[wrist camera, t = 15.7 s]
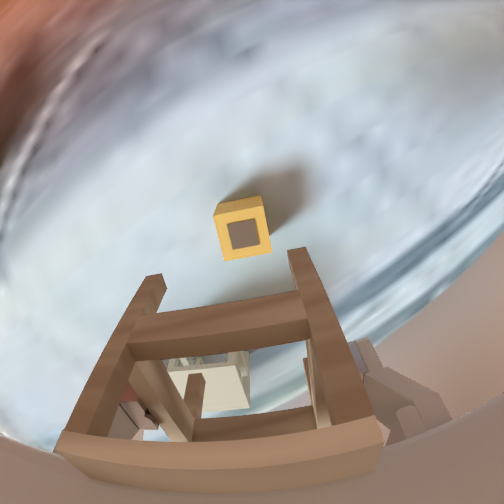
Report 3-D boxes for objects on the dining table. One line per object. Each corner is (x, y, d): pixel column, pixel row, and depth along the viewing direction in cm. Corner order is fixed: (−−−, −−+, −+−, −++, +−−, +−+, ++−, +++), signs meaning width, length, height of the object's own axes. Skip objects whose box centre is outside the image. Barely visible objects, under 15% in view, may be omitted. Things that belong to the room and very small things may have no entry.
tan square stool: (146, 276, 11) (55, 450, 4) (305, 246, 11) (384, 441, 4) (192, 382, 14) (170, 528, 7) (317, 365, 14) (353, 517, 6)
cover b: (181, 320, 32) (165, 371, 24) (237, 312, 31) (234, 365, 24) (197, 361, 34) (188, 412, 27) (249, 354, 34) (249, 407, 26)
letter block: (217, 203, 27) (212, 216, 23) (260, 194, 26) (263, 205, 23) (227, 243, 28) (224, 261, 24) (268, 235, 28) (272, 252, 24)
